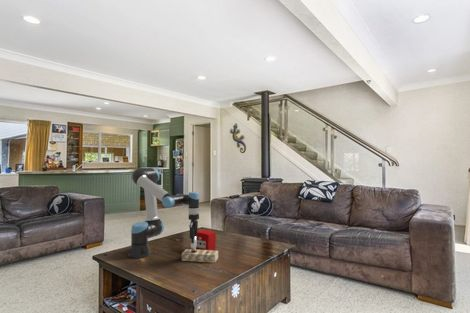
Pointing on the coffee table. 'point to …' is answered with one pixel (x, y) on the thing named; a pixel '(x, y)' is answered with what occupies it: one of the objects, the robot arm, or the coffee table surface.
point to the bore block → (200, 255)
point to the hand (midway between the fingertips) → (193, 246)
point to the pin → (193, 250)
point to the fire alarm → (206, 240)
